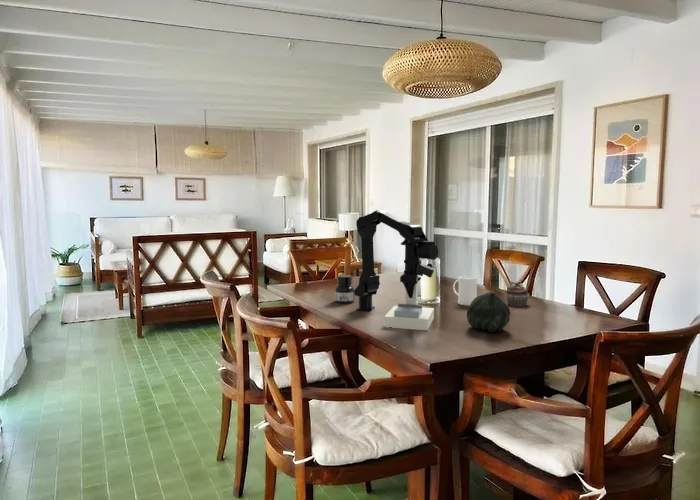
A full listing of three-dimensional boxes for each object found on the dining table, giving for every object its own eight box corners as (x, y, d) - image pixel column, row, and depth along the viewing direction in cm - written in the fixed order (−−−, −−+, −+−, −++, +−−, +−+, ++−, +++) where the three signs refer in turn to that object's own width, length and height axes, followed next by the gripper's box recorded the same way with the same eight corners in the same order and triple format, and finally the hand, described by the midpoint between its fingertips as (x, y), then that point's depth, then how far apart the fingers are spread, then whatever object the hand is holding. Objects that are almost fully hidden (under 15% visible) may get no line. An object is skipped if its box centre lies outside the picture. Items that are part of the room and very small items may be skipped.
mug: (448, 302, 228) (448, 276, 227) (459, 299, 233) (460, 274, 232) (469, 306, 219) (469, 279, 218) (480, 303, 224) (481, 277, 223)
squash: (471, 307, 192) (469, 283, 182) (511, 312, 187) (512, 287, 176) (465, 338, 184) (463, 314, 173) (507, 344, 178) (508, 320, 168)
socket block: (394, 315, 202) (394, 305, 202) (433, 318, 198) (434, 308, 197) (384, 327, 184) (384, 316, 184) (427, 330, 180) (427, 319, 179)
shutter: (398, 311, 192) (398, 303, 192) (421, 312, 190) (422, 304, 189) (394, 316, 184) (394, 308, 184) (418, 317, 181) (418, 309, 181)
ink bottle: (332, 303, 225) (332, 277, 224) (336, 299, 234) (336, 274, 232) (353, 304, 223) (353, 277, 222) (356, 300, 232) (356, 274, 231)
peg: (407, 304, 197) (407, 279, 196) (417, 305, 196) (418, 280, 195) (405, 306, 193) (405, 281, 192) (416, 307, 192) (416, 281, 191)
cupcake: (510, 306, 219) (511, 284, 218) (503, 302, 228) (503, 280, 227) (532, 306, 219) (532, 284, 218) (523, 301, 229) (524, 280, 227)
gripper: (430, 261, 181) (429, 303, 183) (436, 255, 199) (435, 293, 201) (400, 260, 184) (399, 301, 186) (408, 254, 202) (407, 292, 204)
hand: (411, 297), depth 194 cm, fingers closed on peg, 4 cm apart
